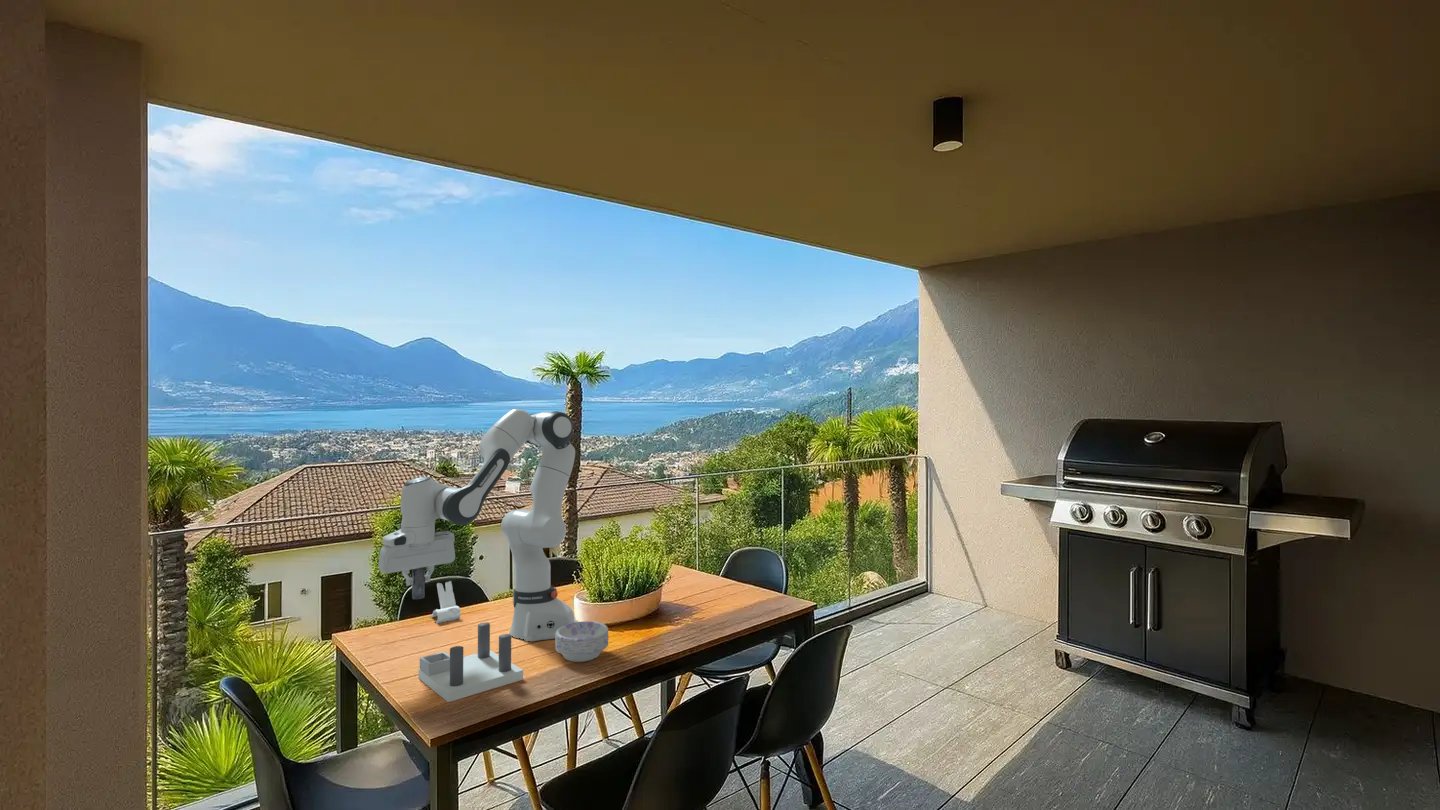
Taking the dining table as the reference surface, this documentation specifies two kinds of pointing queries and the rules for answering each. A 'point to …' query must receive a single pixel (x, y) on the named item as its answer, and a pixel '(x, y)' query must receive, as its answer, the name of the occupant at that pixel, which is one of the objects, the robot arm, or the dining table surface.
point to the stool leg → (418, 583)
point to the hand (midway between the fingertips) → (418, 583)
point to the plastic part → (446, 604)
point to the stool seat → (470, 668)
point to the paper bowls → (581, 640)
